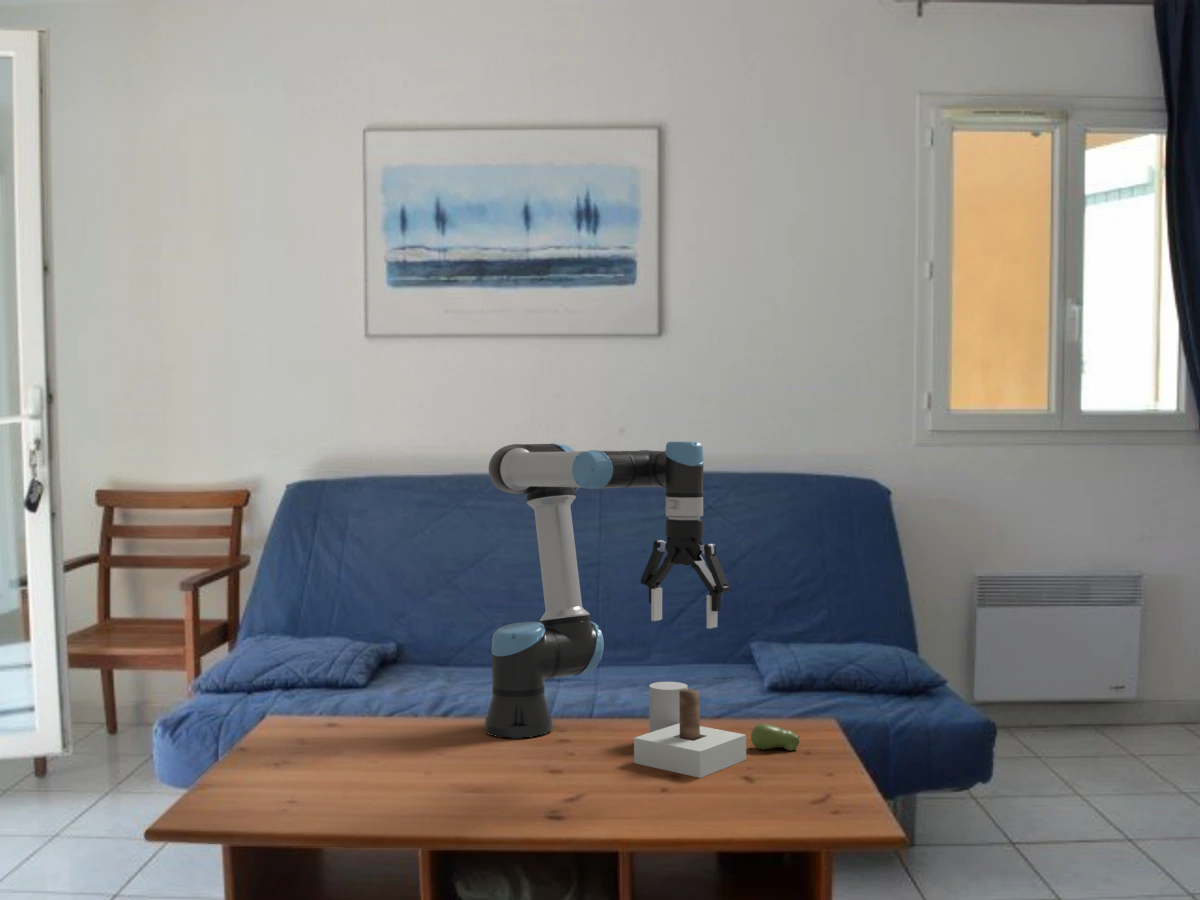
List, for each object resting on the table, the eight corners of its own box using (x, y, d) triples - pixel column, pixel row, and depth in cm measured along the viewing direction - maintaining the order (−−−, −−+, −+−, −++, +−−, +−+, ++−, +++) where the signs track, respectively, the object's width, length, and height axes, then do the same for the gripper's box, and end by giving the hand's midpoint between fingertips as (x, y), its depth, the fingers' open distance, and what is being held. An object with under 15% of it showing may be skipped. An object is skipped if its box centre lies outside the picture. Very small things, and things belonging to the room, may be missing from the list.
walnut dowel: (675, 761, 218) (675, 691, 218) (687, 757, 221) (687, 688, 221) (692, 765, 215) (691, 694, 215) (703, 761, 218) (703, 690, 218)
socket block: (634, 763, 217) (633, 737, 217) (681, 746, 229) (681, 722, 229) (700, 778, 207) (700, 751, 207) (746, 759, 219) (746, 734, 219)
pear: (751, 719, 230) (798, 726, 230) (747, 744, 230) (794, 751, 230) (755, 725, 224) (803, 733, 224) (751, 750, 224) (799, 758, 224)
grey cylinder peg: (688, 737, 237) (687, 682, 237) (687, 747, 229) (687, 690, 229) (650, 736, 237) (650, 681, 237) (648, 746, 229) (648, 689, 229)
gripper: (624, 516, 224) (623, 619, 224) (726, 522, 208) (725, 633, 208) (646, 514, 230) (645, 615, 230) (747, 520, 214) (746, 628, 214)
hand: (683, 624), depth 219 cm, fingers open, 13 cm apart
